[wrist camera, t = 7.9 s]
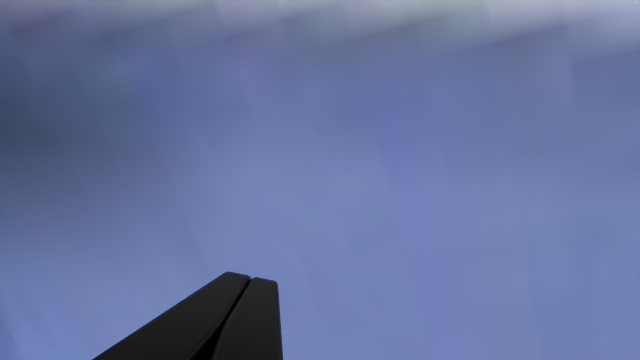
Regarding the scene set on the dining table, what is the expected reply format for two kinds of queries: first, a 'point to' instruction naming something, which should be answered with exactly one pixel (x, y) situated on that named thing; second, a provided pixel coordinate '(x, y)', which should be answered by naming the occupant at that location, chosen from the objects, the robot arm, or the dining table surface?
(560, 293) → the dining table surface
